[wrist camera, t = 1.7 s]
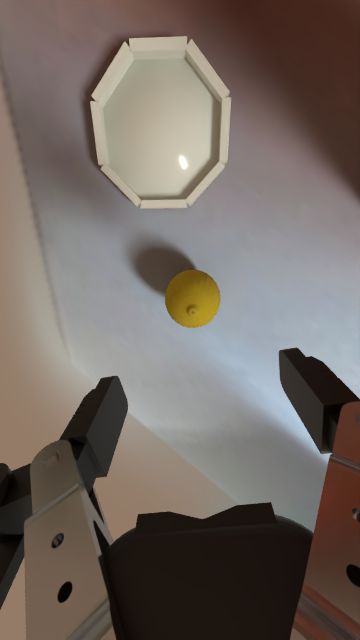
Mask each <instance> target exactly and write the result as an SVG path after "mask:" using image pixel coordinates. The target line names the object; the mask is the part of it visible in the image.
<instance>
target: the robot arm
mask: <svg viewBox="0 0 360 640" xmlns="http://www.w3.org/2000/svg"><path fill="white" fill-rule="evenodd" d="M279 367H280V381H281V384H282V387H283V390H284V391H285V393H286V395H287V397H288V398H289V400H290V402H291V403H292V405H293V407H294V409H295V410H296V412H297V414H298V415H299V417H300V419H301V420H302V422H303V424H304V426H305V427H306V429H307V431H308V432H309V434H310V436H311V438H312V439H313V441H314V443H315V444H316V446H317V448H318V450H319V451H320V453H321V454H326V453H332V454H331V455H330V458H329V462H328V467H327V472H326V476H325V481H324V486H323V491H322V496H321V501H320V505H319V510H318V515H317V520H316V525H315V530H314V533H313V532H312V531H310V530H309V529H307V528H306V527H304V526H302V525H301V524H299V523H297V522H295V521H293V520H291V519H288V518H285V517H282V516H278V515H275V514H274V511H273V508H272V504H271V502H269V503H258V504H247V505H237V506H234V507H232V508H230V509H227V510H225V511H222V512H220V513H217V514H215V515H213V516H210V517H208V518H205V519H198V518H194V517H190V516H185V515H182V514H177V513H173V512H159V513H148V514H138V517H137V523H136V527H135V528H133V529H132V530H130V531H128V532H126V533H125V534H123V535H122V536H121V537H119V538H118V539H117V540H116V541H114V540H113V538H112V536H111V534H110V531H109V529H108V526H107V523H106V520H105V517H104V514H103V511H102V508H101V505H100V502H99V499H98V496H97V493H96V490H95V488H94V486H93V484H94V482H95V479H96V478H98V477H106V476H107V474H108V471H109V467H110V464H111V461H112V458H113V455H114V451H115V449H116V445H117V442H118V439H119V436H120V433H121V430H122V427H123V423H124V420H125V417H126V414H127V410H128V402H127V398H126V395H125V393H124V390H123V387H122V385H121V382H120V379H119V377H118V376H111V377H105V378H101V379H100V381H99V383H98V385H97V386H96V388H95V389H93V390H91V391H90V392H89V393H88V394H87V395H86V396H85V397H84V399H83V400H82V402H81V404H80V406H79V408H78V409H77V411H76V412H75V415H73V417H72V419H71V421H70V422H69V424H68V426H67V427H66V429H65V431H64V433H63V434H62V436H61V437H60V439H59V440H58V441H55V442H53V443H51V444H49V445H47V446H46V447H44V448H43V449H42V450H41V451H40V452H39V453H38V454H37V455H36V456H35V458H34V459H33V461H32V463H30V464H28V465H26V466H23V467H21V468H19V469H16V470H13V471H11V470H10V469H9V467H8V466H7V465H6V464H4V463H0V609H1V607H2V605H3V602H4V600H5V598H6V596H7V594H8V591H9V589H10V587H11V585H12V583H13V580H14V578H15V576H16V574H17V572H18V569H19V567H20V565H21V563H22V560H23V558H24V556H25V597H26V599H25V601H26V640H360V399H359V398H358V397H357V396H356V395H355V394H354V393H353V392H352V391H351V390H350V389H349V388H348V387H347V386H346V385H345V384H344V383H343V382H342V381H341V380H340V379H339V378H337V376H336V375H335V374H334V373H333V372H332V371H331V370H330V369H329V368H328V367H327V366H326V365H325V364H324V363H323V362H322V361H320V360H318V359H316V358H314V357H312V356H311V357H305V355H304V354H303V353H302V352H301V351H300V350H299V349H298V348H291V349H284V350H280V351H279Z"/></svg>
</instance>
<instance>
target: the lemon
mask: <svg viewBox="0 0 360 640" xmlns="http://www.w3.org/2000/svg"><path fill="white" fill-rule="evenodd" d="M165 304H166V308H167V310H168V313H169V314H170V316H171V317H172V319H173V320H175V321H176V322H177V323H178V324H180V325H182V326H185V327H189V328H196V327H201V326H203V325H205V324H207V323H208V322H210V321H211V320H212V319H213V318H214V316H215V315H216V313H217V311H218V309H219V305H220V291H219V289H218V286H217V284H216V282H215V281H214V280H213V278H212V277H210V276H209V275H208V274H207V273H204V272H202V271H199V270H186V271H183V272H181V273H179V274H177V275H176V276H175V277H174V278H173V279H172V280H171V281H170V282H169V285H168V287H167V289H166V294H165Z"/></svg>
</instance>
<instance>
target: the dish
mask: <svg viewBox="0 0 360 640" xmlns="http://www.w3.org/2000/svg"><path fill="white" fill-rule="evenodd" d="M129 45H130V47H129V46H128V45H127V43H126V42H124V43H123V45H122V47H121V48H120V50H119V51H118V53H117V55H116V56H115V58H114V60H113V61H112V63H111V64H110V66H109V68H108V69H107V71H106V73H105V74H104V76H103V77H102V79H101V81H100V82H99V84H98V86H97V87H96V89H95V90H94V92H93V94H92V95H91V96H92V97H93V99H94V100H95V101H90V103H91V111H92V119H93V127H94V135H95V143H96V151H97V158H98V165H100V166H101V170H102V171H103V172H104V173H105V174H106V175H107V176H108V177H109V178H110V179H111V180H112V181H113V182H114V183H115V184H116V185H117V187H118V188H119V189H120V190H121V191H122V192H123V193H124V194H125V195H126V196H127V197H128V198H129V199H130V200H131V201H132V202H133V203H134V204H135V205H136V206H137V207H140V206H141V209H179V208H187V204H188V205H189V206H191V205H192V204H193V203H194V202H195V201H196V200H197V198H198V197H199V196H200V195H201V194H202V193H203V192H204V191H205V190H206V189H207V188H208V186H209V185H210V184H211V183H212V182H213V181H214V179H215V178H216V177H217V176H218V175H219V174H220V173H221V172H222V171H223V169H224V168H225V166H224V165H226V163H227V158H228V141H229V125H230V109H231V97H228V96H229V93H230V91H229V90H228V89H227V87H226V86H225V85H224V83H223V82H222V80H221V79H220V78H219V76H218V75H217V73H216V72H215V71H214V69H213V68H212V67H211V65H210V64H209V62H208V61H207V60H206V58H205V57H204V55H203V54H202V53H201V51H200V50H199V48H198V47H197V46H196V44H195V43H194V42H193V40H192V39H191V40H190V42H189V43H188V45H187V36H181V37H154V38H129Z"/></svg>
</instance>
